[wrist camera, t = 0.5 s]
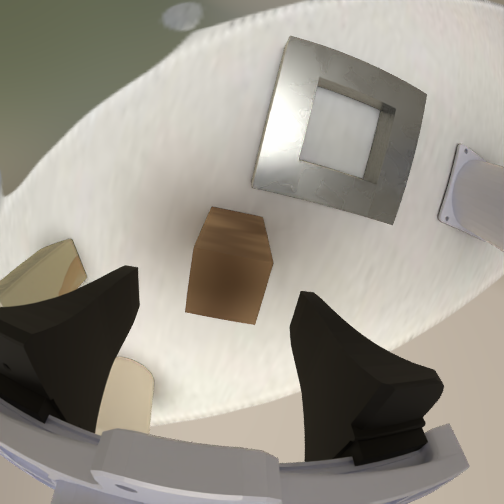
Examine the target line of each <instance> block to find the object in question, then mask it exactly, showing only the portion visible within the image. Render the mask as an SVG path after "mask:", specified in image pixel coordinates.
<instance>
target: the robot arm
mask: <svg viewBox="0 0 504 504" xmlns="http://www.w3.org/2000/svg"><path fill="white" fill-rule="evenodd" d="M464 151H465V152H464ZM446 217H447V218H446ZM438 218H439V220H440V221H441V222H443V223H446V224H448V225H450V226H452V227H455V228H457V229H459V230H461V231H464V232H466V233H468V234H470V235H472V236H474V237H476V238H479V239H481V240H483V241H485V242H486V241H487V242H489V243H490V244H492V245H494V246H495V247H497V248H498V249H500V250H501V251H503V252H504V167H502V166H499V165H495V164H491V163H488V162H487V161H485V160H484V159H483V158H481V157H480V156H479V155H478V154H476V153H475V152H474V151H472V150H471V149H470V148H468V147H467V146H465V145H464V144H459V145H458V148H457V152H456V156H455V161H454V165H453V169H452V173H451V176H450V180H449V184H448V187H447V191H446V194H445V197H444V200H443V204H442V207H441V210H440V213H439V216H438ZM445 218H446V220H445ZM139 306H140V302H139V283H138V267H132V266H126V265H125V266H123V267H120V268H118V269H116V270H114V271H112V272H110V273H108V274H107V275H105V276H103V277H101V278H99V279H97V280H95V281H93V282H91V283H89V284H87V285H85V286H82V287H80V288H78V289H76V290H74V291H71V292H69V293H66V294H63V295H61V296H58V297H55V298H51V299H47V300H44V301H40V302H36V303H31V304H26V305H19V306H10V307H0V455H1V456H3V457H4V458H5V459H7V460H8V461H9V462H11V463H12V464H14V465H15V466H17V467H18V468H19V469H21V470H22V471H24V472H25V473H27V474H29V475H30V476H32V477H33V478H35V479H37V480H38V481H40V482H42V483H44V484H45V485H47V486H49V487H50V488H52V489H54V494H53V497H52V501H51V504H407V503H410V502H412V501H415V500H417V499H419V498H422V497H424V496H426V495H428V494H430V493H432V492H434V491H435V490H437V489H439V488H440V487H442V486H443V485H445V484H447V483H448V482H450V481H451V480H453V479H454V478H455V477H457V476H458V475H460V474H461V473H463V472H464V471H466V470H467V469H468V468H469V464H468V462H467V459H466V457H465V455H464V453H463V451H462V449H461V447H460V444H459V442H458V440H457V438H456V436H455V434H454V432H453V430H452V428H451V426H450V424H445V425H442V426H439V427H436V428H433V429H431V430H429V431H427V432H425V433H424V432H423V429H422V427H424V426H425V421H424V419H423V416H424V415H425V414H426V413H427V412H428V411H429V410H430V409H431V408H432V407H433V405H434V404H435V403H436V402H437V401H438V399H439V398H440V396H441V394H442V392H443V388H444V385H443V383H442V381H441V379H440V378H439V376H438V375H437V373H436V371H435V370H433V369H430V368H427V367H424V366H421V365H418V364H415V363H412V362H410V361H408V360H405V359H403V358H401V357H399V356H397V355H395V354H393V353H391V352H389V351H387V350H385V349H383V348H382V347H380V346H378V345H377V344H375V343H373V342H372V341H371V340H369V339H368V338H366V337H365V336H363V335H362V334H361V333H359V332H358V331H357V330H355V329H354V328H353V327H352V326H350V325H349V324H348V323H347V322H346V321H345V320H343V319H342V318H341V317H340V316H339V315H338V314H337V313H336V312H335V311H334V310H333V309H331V308H330V307H329V306H328V305H327V304H326V303H325V302H324V301H323V300H322V299H321V298H320V297H319V296H318V295H316V294H315V293H314V292H305V291H301V292H300V295H299V298H298V302H297V305H296V308H295V311H294V315H293V318H292V321H291V324H290V339H291V347H292V352H293V356H294V361H295V365H296V369H297V373H298V378H299V382H300V386H301V392H302V401H303V412H304V427H305V428H304V429H305V462H296V463H279V461H278V458H276V457H275V456H273V455H271V454H269V453H267V452H264V451H262V450H255V449H248V448H241V447H229V446H218V445H208V444H201V443H193V442H186V441H181V440H175V439H170V438H164V437H160V436H155V435H151V434H146V433H142V432H138V431H133V430H126V429H120V428H116V429H112V430H107V431H103V432H102V435H101V436H100V435H97V434H95V431H96V424H97V419H98V414H99V409H100V405H101V401H102V397H103V393H104V390H105V386H106V383H107V380H108V377H109V374H110V371H111V368H112V365H113V363H114V361H115V358H116V356H117V354H118V352H119V350H120V348H121V346H122V344H123V343H124V341H125V339H126V337H127V335H128V333H129V331H130V329H131V327H132V325H133V323H134V320H135V318H136V315H137V312H138V309H139Z"/></svg>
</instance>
